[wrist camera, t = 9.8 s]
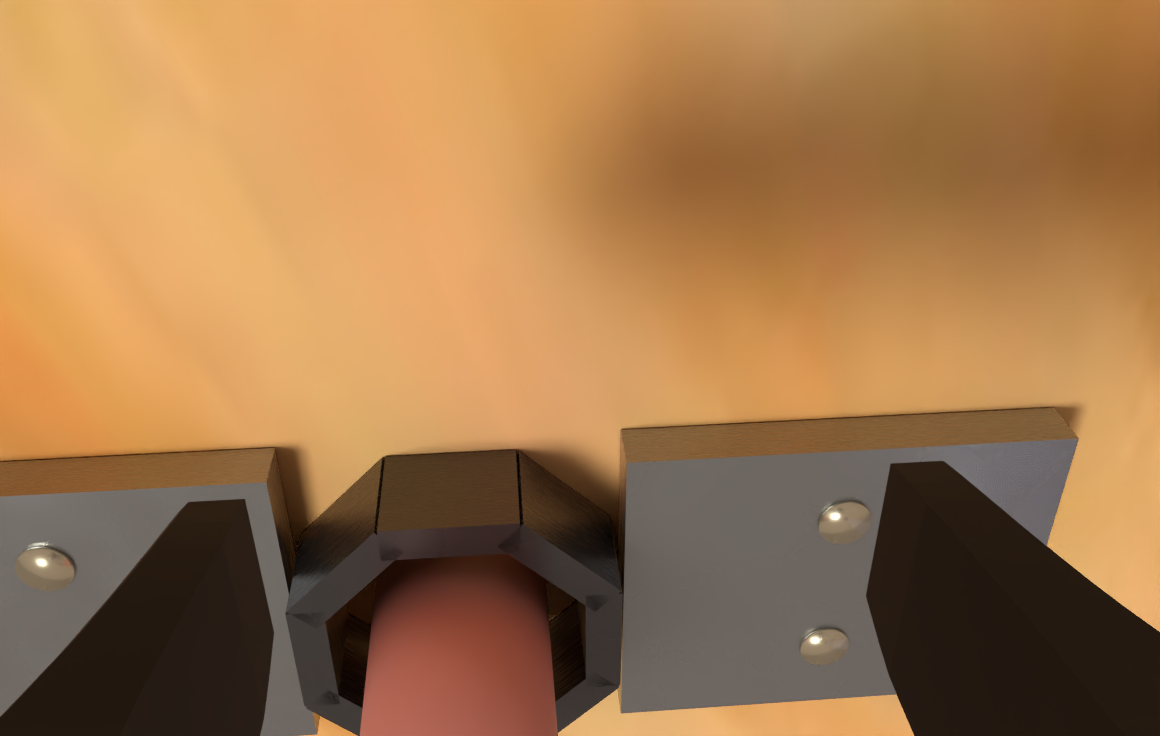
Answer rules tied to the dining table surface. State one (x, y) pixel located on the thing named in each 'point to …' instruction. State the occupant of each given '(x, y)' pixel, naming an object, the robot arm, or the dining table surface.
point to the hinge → (544, 553)
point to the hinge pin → (459, 650)
